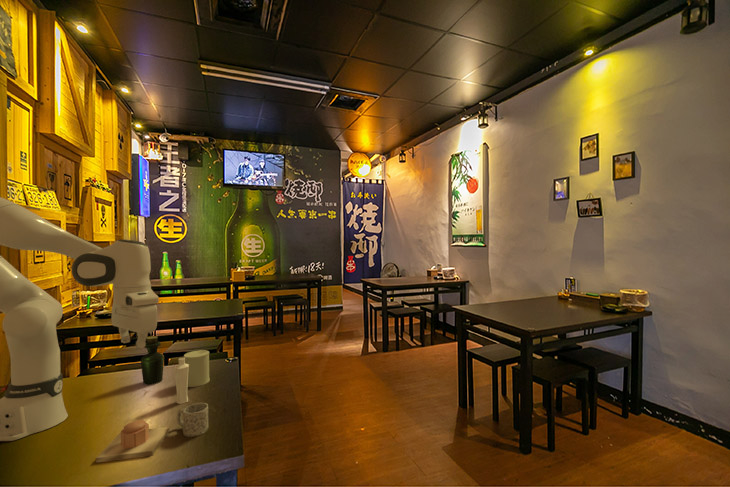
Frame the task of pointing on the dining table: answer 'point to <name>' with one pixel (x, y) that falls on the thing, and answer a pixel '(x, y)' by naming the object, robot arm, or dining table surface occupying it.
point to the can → (197, 367)
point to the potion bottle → (152, 362)
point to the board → (146, 449)
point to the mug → (194, 419)
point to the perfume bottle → (181, 381)
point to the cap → (134, 434)
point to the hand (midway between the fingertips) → (132, 344)
